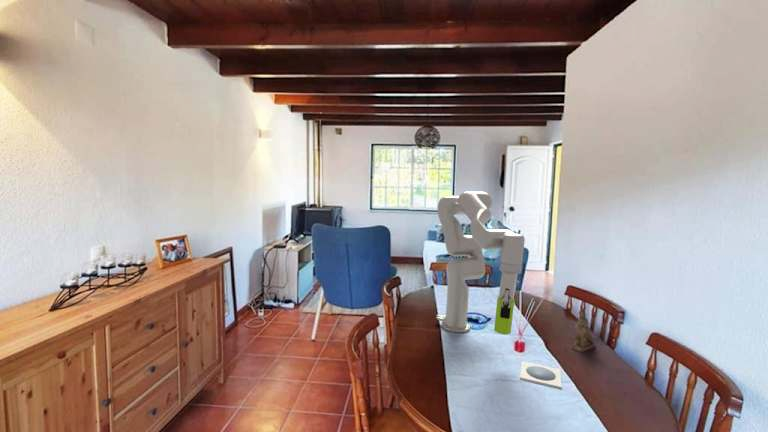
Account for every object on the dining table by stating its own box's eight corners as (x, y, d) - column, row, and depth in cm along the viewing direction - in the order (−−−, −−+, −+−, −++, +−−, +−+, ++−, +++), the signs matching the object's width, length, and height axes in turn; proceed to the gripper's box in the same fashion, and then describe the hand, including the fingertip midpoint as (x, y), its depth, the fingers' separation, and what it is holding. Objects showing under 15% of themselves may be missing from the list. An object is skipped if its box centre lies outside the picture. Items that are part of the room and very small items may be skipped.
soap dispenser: (514, 336, 139) (520, 282, 136) (494, 333, 140) (500, 280, 137) (512, 329, 144) (518, 278, 142) (493, 326, 146) (499, 275, 143)
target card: (519, 379, 130) (519, 377, 130) (521, 362, 142) (522, 360, 142) (561, 388, 125) (561, 386, 125) (560, 370, 137) (560, 369, 137)
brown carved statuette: (580, 358, 154) (580, 317, 150) (568, 352, 159) (567, 312, 155) (597, 346, 160) (597, 307, 156) (585, 341, 165) (584, 302, 161)
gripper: (502, 260, 148) (497, 305, 151) (497, 271, 132) (492, 320, 135) (522, 263, 145) (517, 309, 148) (520, 274, 130) (514, 325, 132)
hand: (505, 314), depth 141 cm, fingers closed on soap dispenser, 5 cm apart
